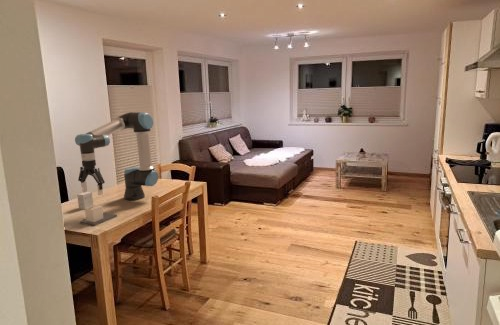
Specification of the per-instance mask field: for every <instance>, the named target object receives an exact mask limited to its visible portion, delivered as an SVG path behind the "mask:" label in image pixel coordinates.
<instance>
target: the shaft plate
mask: <svg viewBox="0 0 500 325" xmlns="http://www.w3.org/2000/svg"><path fill="white" fill-rule="evenodd" d="M117 217H118V215H117V214H115V213H108V212H104V211H103V219H101V220H98V221H96V222H91V221H86V218H84V219H83V220H80V221H79V223H80V224H82V225H88V226H92V227H95V226H97V225H100V224H103V223H105V222H108V221H110V220H113V219H115V218H117Z"/></svg>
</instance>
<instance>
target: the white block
mask: <svg viewBox="0 0 500 325" xmlns="http://www.w3.org/2000/svg"><path fill="white" fill-rule="evenodd" d="M84 212H85V219H86V221H91V222H96V221H98V220H101V219H103V212H104V211H103V205H96V204H93V206H90V207H87V208H85V209H84Z"/></svg>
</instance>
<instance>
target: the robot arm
mask: <svg viewBox="0 0 500 325" xmlns="http://www.w3.org/2000/svg"><path fill="white" fill-rule="evenodd" d="M153 125H154V118H153V117H152V115H151V114H150V113H148V112H144V111H141V112H140V111H139V112H138V111H136V112H135V111H134V112H131V111H129V112H126V113H124V114H121V115H119V116H117V117H115V118H114V119H113V120H112V121H109V122H107V123H106V124H104V125H100V126H99V127H97V128H95V129H92V130H90V131H88V132H86V133H80V134H77V135H76V136H75V137H74V142H75V144H76V146H78V147H79V151H80V157H81V165H82V166H81V167H79V169H80V171H79V176H78V182H80V183H81V188H82V193H85V192H88V186H87V181H86V180H87V178H88V177H89V176H91V177H92V178H93V179H94V180H95V182H96V183H97V184H96V186H97V196H102V195H103V189H104V187H103V184H105V179H104V178H103V176H102V173H101V171H100V168H99V167H97V168H96V166H97V163H96V154H95V149H99V148H105V147H108V146H109V145H110V142H111V139H110V137H109V136H110V135H112V134H114V133H116V132H119V131H123V130H125V129H126V130H127V129H133V133H134V134H135V135H136V142H137V151H138V152H137V153H138V162H139V166H135V167H128V168H125V169H124V171H123V172H124V177H123V178H124V184H125V185H124V187H125V189H124V194H123V199H124V200H126V201H136V200H142V199H145V192H144V189H143V186H144V187H154V186H155V185H157V183H158V181H159V178H160V177H159V173H158V171H157V170H155V167H154V165H153V163H152V162H153V161H152V153H151V145H150V144H151V143H150V134H149V133H150V132H151V129H152V128H153Z"/></svg>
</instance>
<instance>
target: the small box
mask: <svg viewBox="0 0 500 325" xmlns="http://www.w3.org/2000/svg"><path fill="white" fill-rule="evenodd" d="M77 204H78V209H79V210H85V208H87V207H90V206H93V205H94V199H93V192H92V191H87V192H85V193H83V192H80V193H78V194H77Z"/></svg>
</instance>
